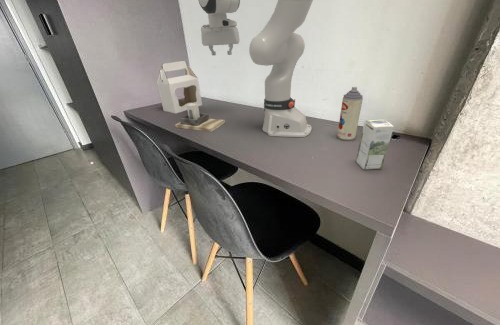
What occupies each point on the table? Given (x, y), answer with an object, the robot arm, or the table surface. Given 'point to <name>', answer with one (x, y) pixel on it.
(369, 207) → the table surface
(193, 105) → the plug block
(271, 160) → the table surface
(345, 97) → the aerosol can
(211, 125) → the dock board
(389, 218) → the table surface
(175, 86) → the gable box
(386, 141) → the syrup box
